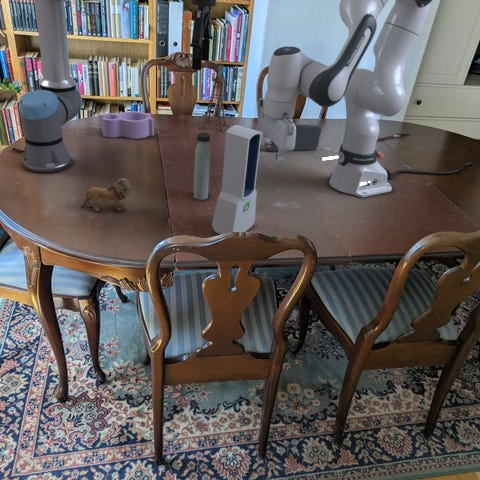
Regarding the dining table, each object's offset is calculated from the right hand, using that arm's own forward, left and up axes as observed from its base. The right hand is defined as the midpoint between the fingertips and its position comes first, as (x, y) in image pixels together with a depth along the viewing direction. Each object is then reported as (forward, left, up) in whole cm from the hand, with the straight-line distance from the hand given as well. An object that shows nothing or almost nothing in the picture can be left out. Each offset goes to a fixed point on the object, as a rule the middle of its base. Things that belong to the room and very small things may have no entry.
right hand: (272, 153), depth 140 cm
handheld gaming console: (-28, -43, -18) cm, 54 cm away
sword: (-80, -50, -18) cm, 96 cm away
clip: (+35, -66, -18) cm, 77 cm away
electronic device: (+15, +12, -18) cm, 26 cm away
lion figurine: (+48, -6, -18) cm, 52 cm away
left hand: (+15, -30, +18) cm, 39 cm away
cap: (+19, -9, +3) cm, 21 cm away
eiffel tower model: (-3, -71, -18) cm, 73 cm away
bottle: (+19, -9, -18) cm, 28 cm away
